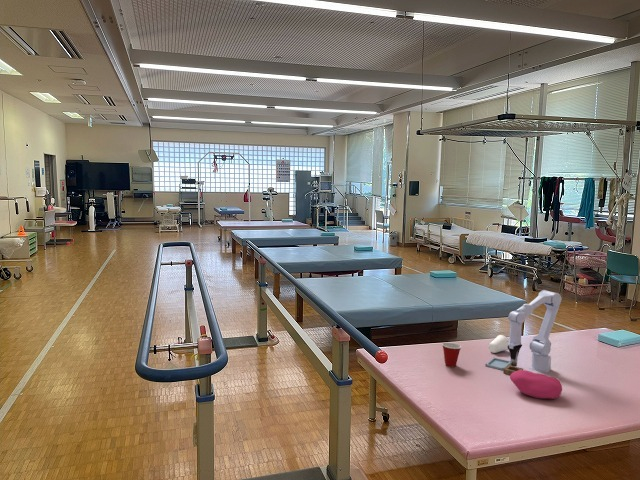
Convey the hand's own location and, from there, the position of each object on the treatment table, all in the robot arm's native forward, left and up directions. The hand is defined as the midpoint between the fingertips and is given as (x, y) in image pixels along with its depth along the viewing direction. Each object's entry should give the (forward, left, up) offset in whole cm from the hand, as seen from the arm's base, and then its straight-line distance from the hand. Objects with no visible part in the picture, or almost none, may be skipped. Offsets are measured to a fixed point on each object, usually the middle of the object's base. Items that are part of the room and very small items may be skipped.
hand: (514, 358), depth 251 cm
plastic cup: (+31, +10, -9) cm, 34 cm away
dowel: (0, 0, -4) cm, 4 cm away
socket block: (0, 0, -9) cm, 9 cm away
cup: (+20, -25, -6) cm, 32 cm away
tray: (+10, -7, -9) cm, 15 cm away
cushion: (-16, +18, -9) cm, 26 cm away
